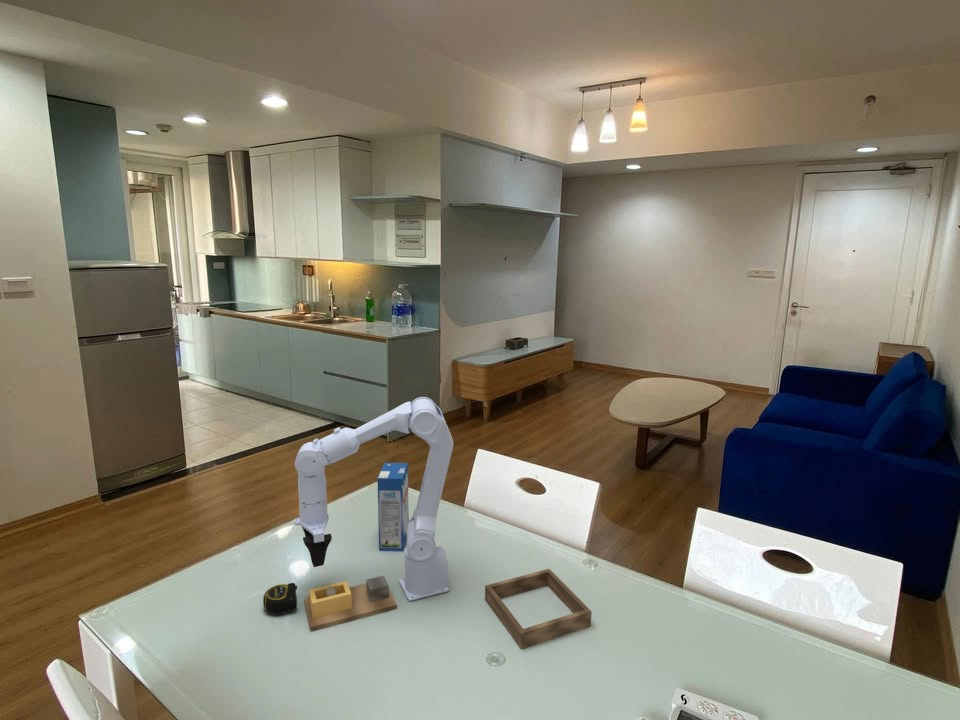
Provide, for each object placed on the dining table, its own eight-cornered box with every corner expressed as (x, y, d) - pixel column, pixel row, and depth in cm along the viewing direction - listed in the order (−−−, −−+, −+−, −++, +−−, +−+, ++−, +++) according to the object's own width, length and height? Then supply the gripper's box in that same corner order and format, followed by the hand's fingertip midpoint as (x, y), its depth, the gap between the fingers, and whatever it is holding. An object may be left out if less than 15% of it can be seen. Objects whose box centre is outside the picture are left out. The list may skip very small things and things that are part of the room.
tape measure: (297, 614, 114) (296, 598, 114) (262, 620, 112) (261, 604, 112) (297, 595, 121) (296, 580, 120) (264, 600, 119) (263, 585, 118)
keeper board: (385, 582, 125) (384, 563, 124) (397, 608, 116) (396, 587, 115) (304, 602, 118) (303, 581, 117) (310, 631, 109) (309, 609, 108)
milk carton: (403, 551, 138) (402, 478, 134) (379, 550, 138) (377, 478, 134) (408, 531, 148) (407, 463, 144) (386, 530, 148) (384, 462, 144)
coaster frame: (548, 582, 127) (549, 568, 126) (590, 626, 112) (591, 611, 111) (485, 599, 120) (485, 585, 119) (520, 649, 105) (521, 633, 105)
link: (347, 594, 119) (346, 580, 118) (351, 608, 115) (351, 593, 114) (309, 604, 116) (308, 589, 115) (312, 618, 111) (312, 603, 111)
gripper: (289, 488, 120) (293, 543, 123) (297, 517, 107) (300, 578, 110) (322, 482, 123) (324, 537, 126) (333, 510, 110) (335, 570, 113)
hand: (315, 556), depth 118 cm, fingers open, 7 cm apart
